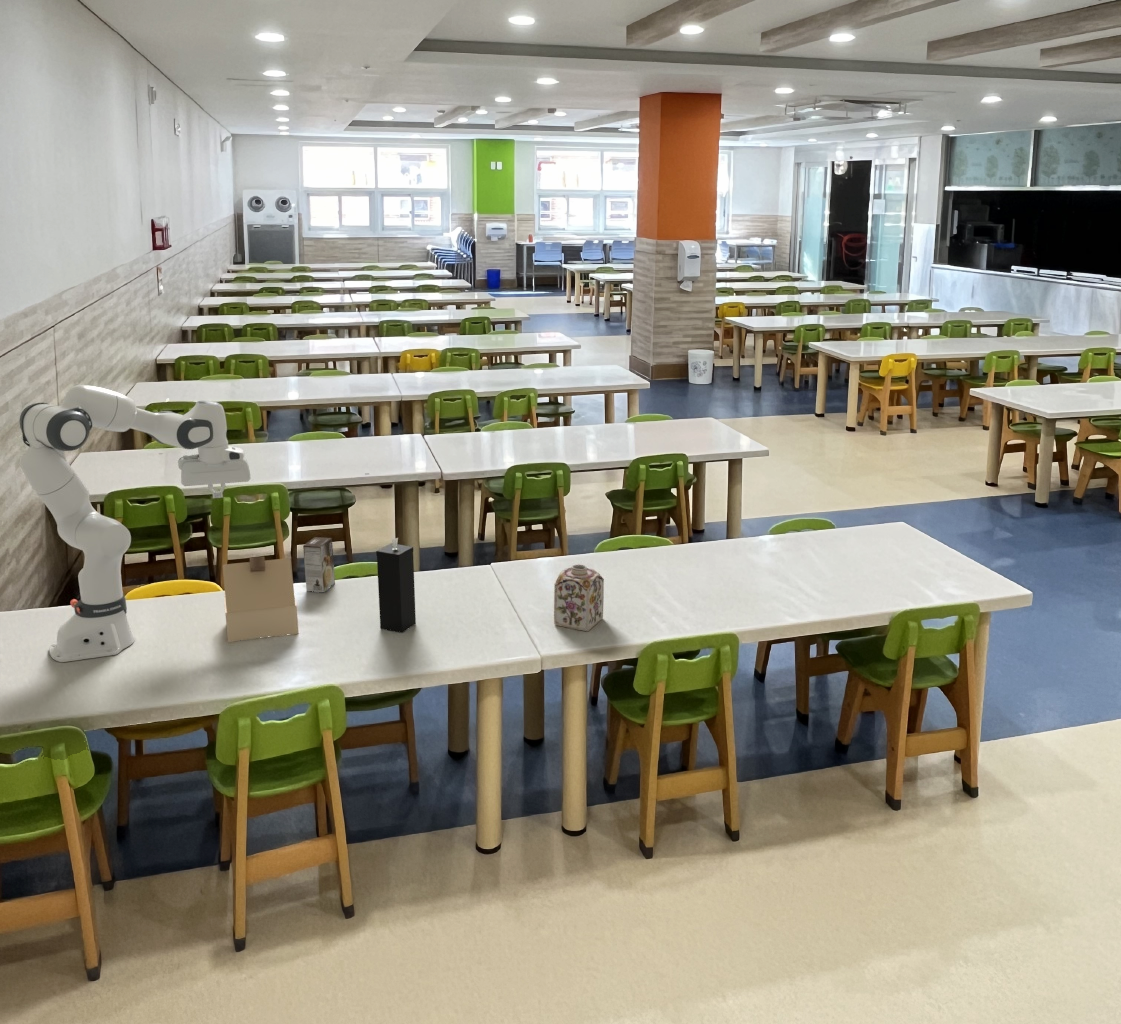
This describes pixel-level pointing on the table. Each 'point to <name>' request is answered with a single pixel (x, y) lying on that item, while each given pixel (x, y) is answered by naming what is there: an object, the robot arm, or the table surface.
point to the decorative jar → (578, 598)
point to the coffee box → (319, 564)
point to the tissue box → (396, 587)
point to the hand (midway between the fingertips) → (217, 497)
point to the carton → (261, 623)
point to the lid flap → (258, 584)
